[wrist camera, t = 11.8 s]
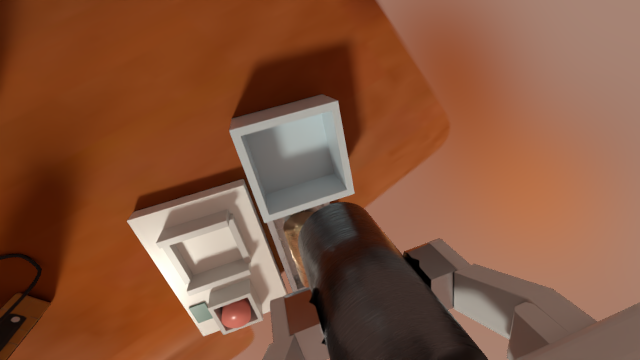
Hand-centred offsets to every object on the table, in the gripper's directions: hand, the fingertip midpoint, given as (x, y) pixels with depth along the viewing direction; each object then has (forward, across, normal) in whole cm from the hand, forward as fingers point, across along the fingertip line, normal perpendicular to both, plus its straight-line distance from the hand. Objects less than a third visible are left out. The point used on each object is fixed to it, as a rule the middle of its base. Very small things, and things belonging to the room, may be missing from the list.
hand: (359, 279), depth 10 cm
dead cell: (+3, 0, 0) cm, 3 cm away
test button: (+15, +10, +14) cm, 23 cm away
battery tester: (+17, +10, +9) cm, 22 cm away
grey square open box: (+17, 0, 0) cm, 17 cm away
